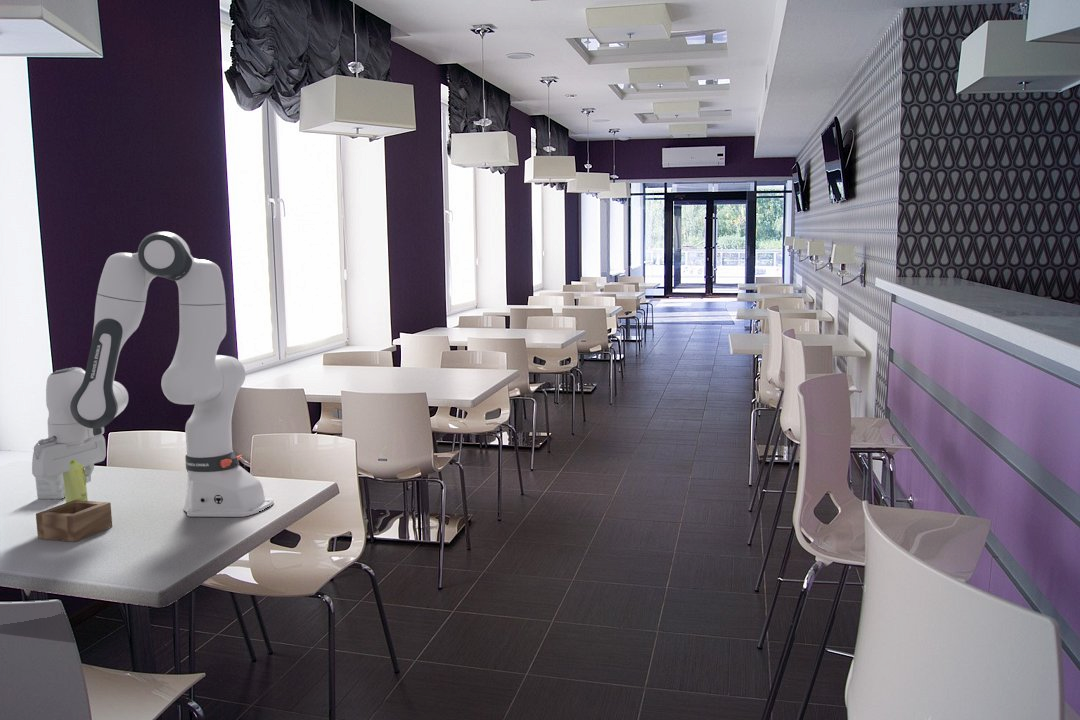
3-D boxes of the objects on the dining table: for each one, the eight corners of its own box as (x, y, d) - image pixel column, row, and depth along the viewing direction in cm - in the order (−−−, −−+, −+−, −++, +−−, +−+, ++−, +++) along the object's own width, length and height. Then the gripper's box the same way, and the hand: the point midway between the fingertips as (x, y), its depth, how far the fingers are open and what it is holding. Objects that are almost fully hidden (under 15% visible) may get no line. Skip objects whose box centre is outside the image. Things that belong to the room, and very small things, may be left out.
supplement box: (78, 492, 243) (74, 447, 241) (61, 499, 235) (57, 454, 234) (53, 491, 244) (50, 447, 242) (36, 499, 236) (32, 453, 235)
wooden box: (112, 526, 210) (110, 502, 210) (75, 541, 199) (72, 516, 199) (76, 523, 213) (74, 499, 213) (37, 538, 202) (35, 513, 201)
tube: (90, 518, 217) (83, 442, 215) (68, 522, 214) (60, 445, 212) (88, 513, 222) (80, 438, 220) (65, 517, 219) (58, 441, 217)
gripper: (44, 442, 205) (48, 499, 206) (109, 426, 224) (111, 478, 226) (23, 440, 206) (26, 497, 208) (88, 424, 226) (91, 476, 228)
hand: (71, 487), depth 217 cm, fingers open, 8 cm apart
